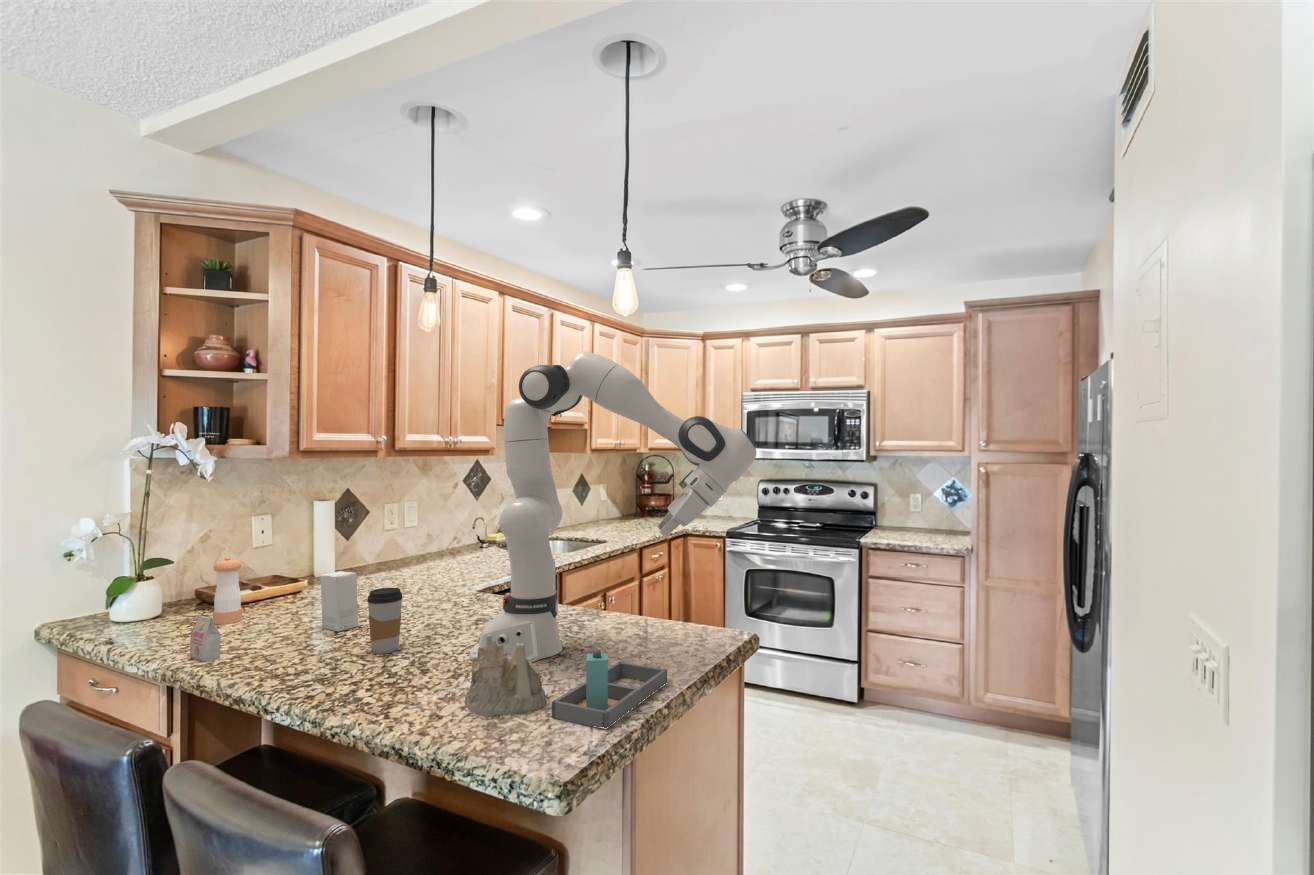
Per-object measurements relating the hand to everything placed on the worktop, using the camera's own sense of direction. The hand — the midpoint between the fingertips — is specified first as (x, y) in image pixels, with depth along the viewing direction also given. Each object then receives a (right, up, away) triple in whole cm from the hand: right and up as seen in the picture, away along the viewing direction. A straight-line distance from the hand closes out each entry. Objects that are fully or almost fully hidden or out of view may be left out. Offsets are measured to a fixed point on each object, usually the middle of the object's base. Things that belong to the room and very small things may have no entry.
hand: (660, 531), depth 147 cm
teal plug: (-12, -31, -24) cm, 41 cm away
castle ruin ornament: (-31, -32, -18) cm, 48 cm away
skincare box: (-92, -33, +36) cm, 104 cm away
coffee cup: (-70, -32, +15) cm, 79 cm away
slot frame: (-10, -31, -19) cm, 37 cm away
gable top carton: (-112, -33, +10) cm, 118 cm away
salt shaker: (-130, -33, +44) cm, 141 cm away
